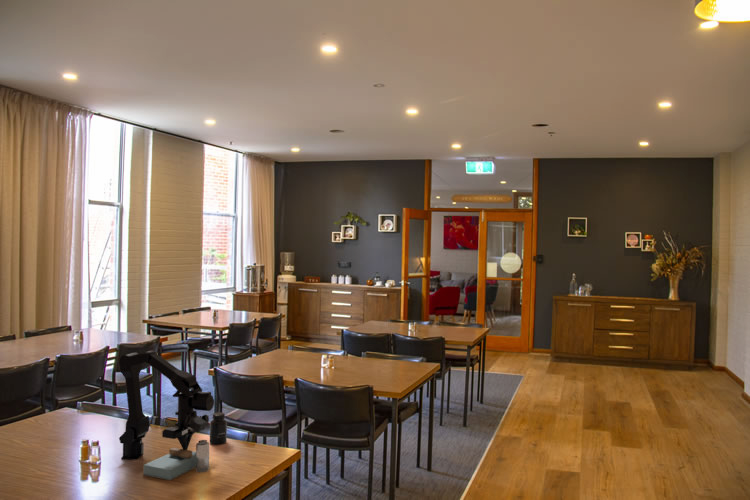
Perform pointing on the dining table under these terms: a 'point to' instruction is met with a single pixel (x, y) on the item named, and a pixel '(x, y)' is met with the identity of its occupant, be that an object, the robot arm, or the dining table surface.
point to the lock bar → (180, 452)
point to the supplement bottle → (218, 429)
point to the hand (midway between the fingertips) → (185, 450)
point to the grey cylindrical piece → (202, 456)
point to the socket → (170, 466)
